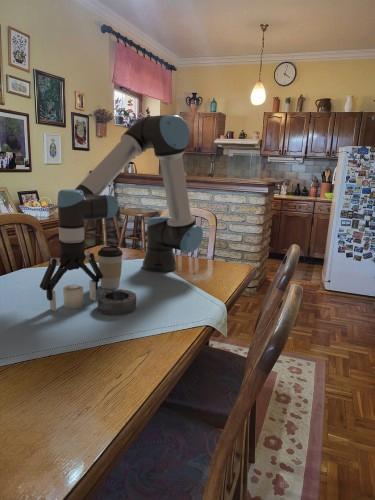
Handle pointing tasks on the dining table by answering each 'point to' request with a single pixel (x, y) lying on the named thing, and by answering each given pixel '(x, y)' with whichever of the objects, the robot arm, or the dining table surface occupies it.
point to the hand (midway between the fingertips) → (73, 304)
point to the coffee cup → (110, 266)
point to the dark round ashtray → (116, 302)
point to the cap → (73, 296)
